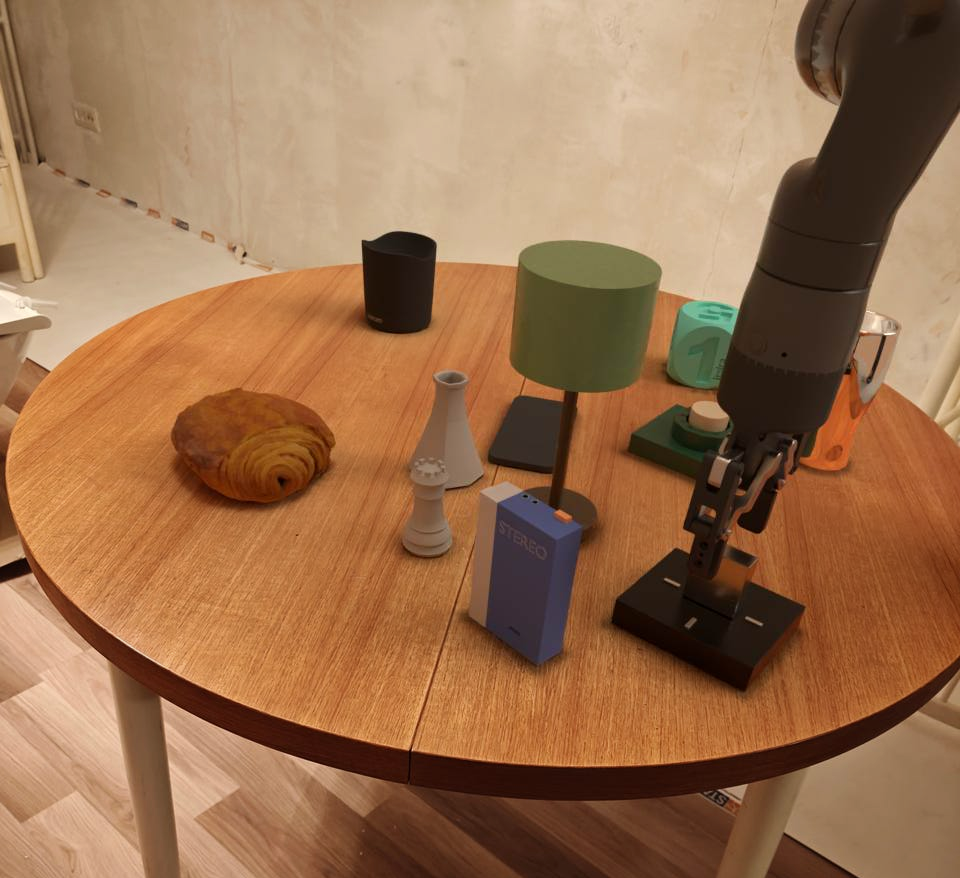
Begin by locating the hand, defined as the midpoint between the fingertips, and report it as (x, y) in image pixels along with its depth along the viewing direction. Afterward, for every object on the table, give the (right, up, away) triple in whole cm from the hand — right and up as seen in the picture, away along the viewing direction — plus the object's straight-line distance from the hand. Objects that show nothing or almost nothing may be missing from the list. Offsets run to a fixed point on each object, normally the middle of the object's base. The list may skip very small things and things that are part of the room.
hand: (726, 550), depth 67 cm
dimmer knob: (0, -4, +3) cm, 5 cm away
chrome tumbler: (+18, +13, +29) cm, 37 cm away
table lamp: (-12, +4, +15) cm, 20 cm away
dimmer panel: (0, -6, +5) cm, 8 cm away
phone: (-13, +15, +28) cm, 34 cm away
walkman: (-16, -7, +3) cm, 18 cm away
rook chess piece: (-24, +1, +11) cm, 26 cm away
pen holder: (-30, +35, +50) cm, 68 cm away
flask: (-22, +10, +21) cm, 32 cm away
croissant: (-41, +10, +19) cm, 46 cm away
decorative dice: (+9, +26, +43) cm, 51 cm away
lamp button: (+5, +16, +25) cm, 30 cm away
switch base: (+5, +13, +27) cm, 31 cm away
